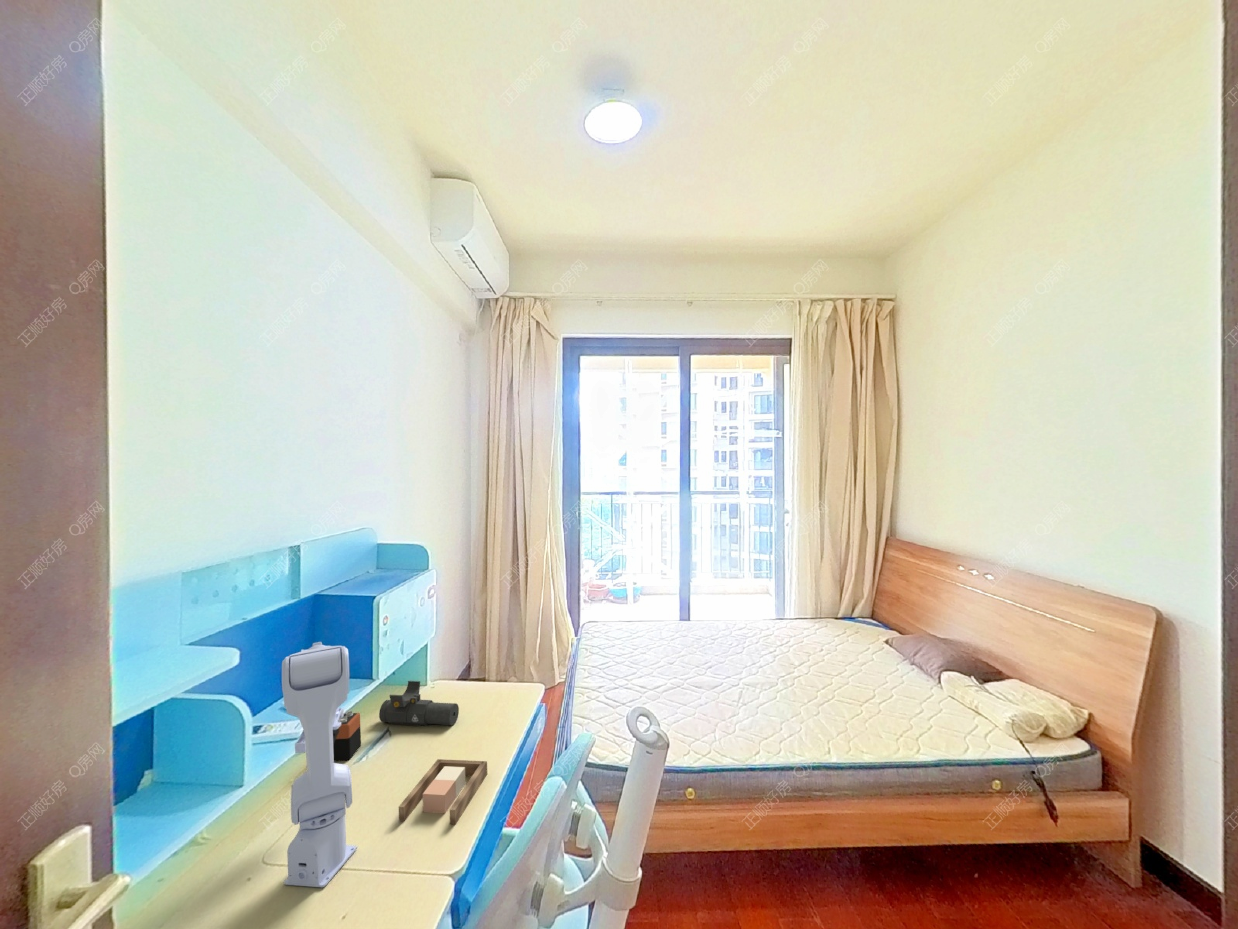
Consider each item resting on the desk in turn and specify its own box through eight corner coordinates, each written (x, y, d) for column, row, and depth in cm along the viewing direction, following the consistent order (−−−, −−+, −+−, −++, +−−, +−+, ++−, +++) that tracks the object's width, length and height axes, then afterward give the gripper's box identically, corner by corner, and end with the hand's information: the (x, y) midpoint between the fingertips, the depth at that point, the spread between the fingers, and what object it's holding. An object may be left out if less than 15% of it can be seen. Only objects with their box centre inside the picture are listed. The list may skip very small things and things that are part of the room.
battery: (332, 762, 131) (330, 722, 131) (345, 747, 138) (343, 709, 138) (349, 760, 131) (348, 721, 131) (361, 746, 138) (360, 708, 138)
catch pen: (455, 824, 106) (455, 810, 106) (399, 821, 108) (398, 806, 108) (487, 774, 123) (487, 761, 123) (438, 771, 125) (437, 759, 125)
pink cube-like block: (445, 813, 110) (444, 795, 110) (423, 812, 111) (422, 793, 111) (455, 798, 115) (455, 780, 115) (434, 797, 116) (433, 779, 116)
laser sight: (446, 734, 143) (445, 697, 143) (372, 730, 147) (370, 694, 147) (462, 716, 153) (461, 682, 153) (392, 713, 156) (391, 680, 156)
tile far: (456, 798, 115) (455, 780, 115) (434, 797, 116) (434, 779, 116) (465, 784, 120) (465, 767, 120) (445, 783, 121) (444, 766, 121)
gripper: (319, 721, 103) (321, 788, 103) (356, 688, 117) (358, 747, 117) (283, 722, 103) (286, 789, 103) (324, 689, 117) (327, 748, 117)
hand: (322, 767), depth 110 cm, fingers closed
